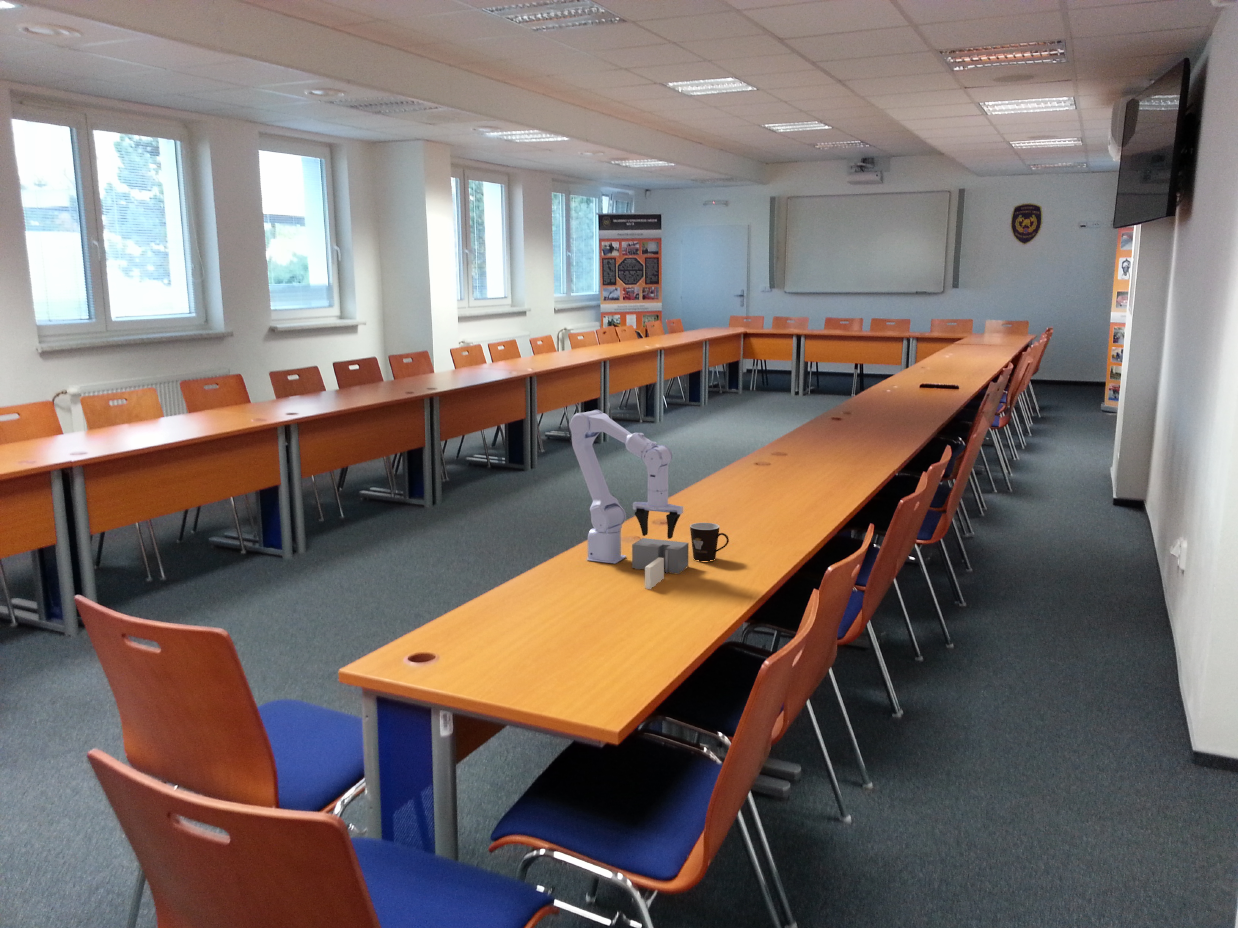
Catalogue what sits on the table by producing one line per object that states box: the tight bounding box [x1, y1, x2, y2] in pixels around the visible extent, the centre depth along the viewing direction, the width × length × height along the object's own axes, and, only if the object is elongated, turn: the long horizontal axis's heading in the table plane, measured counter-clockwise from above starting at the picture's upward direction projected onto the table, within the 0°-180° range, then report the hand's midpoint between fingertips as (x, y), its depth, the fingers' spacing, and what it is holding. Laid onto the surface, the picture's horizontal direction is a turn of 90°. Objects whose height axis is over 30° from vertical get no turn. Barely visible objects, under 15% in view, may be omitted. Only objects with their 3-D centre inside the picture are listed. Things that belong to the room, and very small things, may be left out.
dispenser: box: [631, 537, 690, 575], centre depth 263 cm, size 14×9×7 cm, turn 66°
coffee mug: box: [689, 522, 730, 561], centre depth 270 cm, size 12×9×10 cm
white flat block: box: [644, 558, 665, 590], centre depth 249 cm, size 2×10×6 cm, turn 156°
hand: (657, 536), depth 262 cm, fingers open, 7 cm apart
